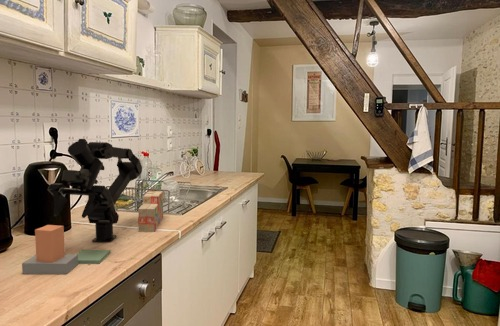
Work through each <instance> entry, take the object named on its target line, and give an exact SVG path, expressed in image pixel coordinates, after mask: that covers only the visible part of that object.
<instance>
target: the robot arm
mask: <svg viewBox="0 0 500 326" xmlns="http://www.w3.org/2000/svg"><path fill="white" fill-rule="evenodd" d="M67 152H68V154H69V155H70V156H71V158H72V159H73V160H74V161H75V162H76V164H77V165H79V166H81V167H80V168H79V170H74V169H64V170H63V173H62V176H61V181H62V182H63V181H65V182H68V183H67V185H68V187H66V185H65V184H64V183H56V182H55V183H54V182H53V183H50V184H49V186H48V188H47V191H48V192H49V193H50V194H51V195H52V197H53V199H54V203H53V205H54V206H53V216H54V217H58V215H59V214H60V213H61V211H62V210H64V209H63V208H64V207H65V205H66V204H67V202H68V199H69V198H70V196H88V200H87V201H86V204H85V207H84V208H83V210H82V213H81V218H82V219H85V218H88V224H95V237H94V238H93V239H92V240H91V242H95V243H96V242H97V243H101V242H102V243H104V242H105V243H108V242H110V243H111V241H113V240H114V239H115V238H116V237H117V234H114V227H113V224H114V225H115V224H117V223H118V222H119V219H120V218H119V217H120V215H119V214H118V213H117V210H116V207H115V204H116V203H117V201H118V200H119V198H120V197H121V196H122V194H123V193H124V191H125V189H126V188H127V186H128V185H129V183H131V182H132V181H135V180H136V179H138V178H139V176H140V175H141V174H142V172H143V166H142V163H141V160H140V158H138V157H137V156H136V155H135V154H134V153H133V150H132V149H131V148H124V147H117V146H113V144H111V143H109V142H103V141H100V142H99V141H90V142H87V139H86V138H78V140H77V141H75V142H73V143H71V144H70V145H68V148H67ZM111 158H117V163H116V166H117V168H118V169H117V171H118V175H117V176H116V178H115V179H114V181H112V183H111V185H110V186H109V187H108V188H106V186H105V185H98V182H99V181H98V180H97V178H98V176H99V174H100V171H105V169H106V168H105V165H104V164H103V163H104V162H102V160H108V159H111ZM124 159H127V160H129V161H123V160H124ZM69 187H70V188H69Z"/></svg>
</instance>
